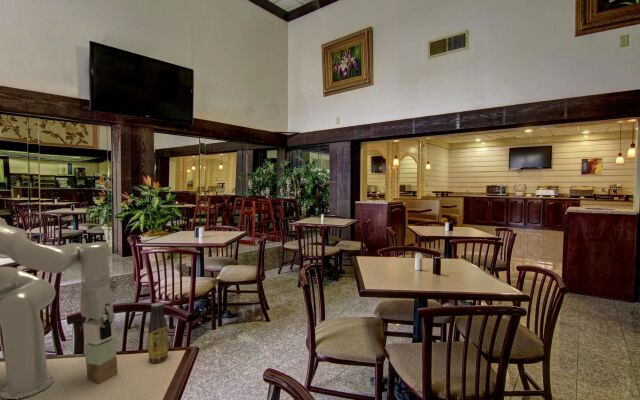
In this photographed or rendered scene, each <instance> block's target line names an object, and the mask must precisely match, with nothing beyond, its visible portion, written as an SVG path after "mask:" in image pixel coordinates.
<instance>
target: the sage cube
mask: <svg viewBox="0 0 640 400" xmlns="http://www.w3.org/2000/svg"><path fill="white" fill-rule="evenodd" d="M114 357H117V344H116V338H115V337H113V338H111V339H109V340H106V341H104V342H102V343H100V344H97V345H94V344H91V343H87V342H86V343H85V344H84V358H85V363H89V364H94V365H99V366H100V365H101V364H103V363H105V362H107V361H108V360H110V359H112V358H114Z"/></svg>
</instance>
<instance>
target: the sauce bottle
mask: <svg viewBox="0 0 640 400" xmlns="http://www.w3.org/2000/svg"><path fill="white" fill-rule="evenodd" d="M150 309H151V317H150V318H151V319H150V320H149V323H148V327H147V328H148V331H147V336H148V337H147V339H148V341H147V342H148V346H147V349H148V360H149V363H152V364H156V363H161V362H164V361H165V360H167V359H168V354H169V339H168V338H169V337H168V333H169V332H168V323H167V319H166V317H165V316H164V315H165V314H164V302H155V303H152V304H151V305H150Z"/></svg>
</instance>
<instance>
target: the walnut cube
mask: <svg viewBox="0 0 640 400" xmlns="http://www.w3.org/2000/svg"><path fill="white" fill-rule="evenodd" d="M85 363H86V362H85ZM118 373H119V372H118V360H117V356H116V357H114V358H112V359H110V360H108V361H107V362H105V363H103V364H101V365H100V366H99V365H94V364H89V363H86V377H87V379H86V380H87V381H89V382H91V383H94V384H95V383H96V384H98V385H100V384H102V383H104V382H106V381H107V380H109V379H111V378H113V377H115V376H117V375H118Z"/></svg>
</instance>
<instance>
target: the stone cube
mask: <svg viewBox="0 0 640 400" xmlns="http://www.w3.org/2000/svg"><path fill="white" fill-rule="evenodd" d="M106 319H107V318H104V319H103V320H104V322H105V320H106ZM114 319H115V318H114ZM114 319H113V321H112V324H111V337H108V338H106V339H104V340H101V339H100V327H101V324H100V321H99V320H91V321H88V322H86V321H85V322H83V323H82V324H83V327H82V328H83V339H84V343H86V344H87V343H91V344H94V345H97V344H100V343H102V342H104V341H106V340H109V339H111V338H115V336H116V335H115V320H114Z"/></svg>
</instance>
